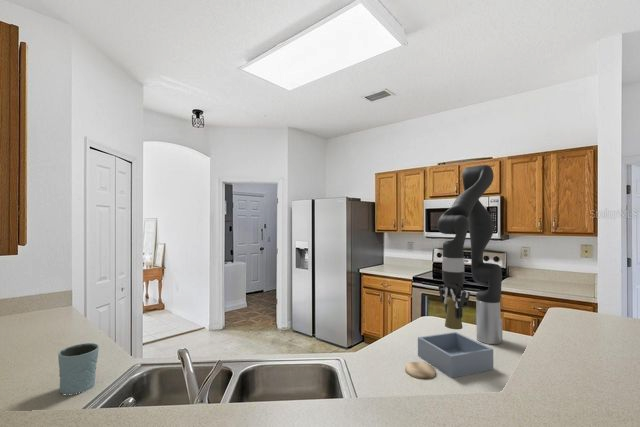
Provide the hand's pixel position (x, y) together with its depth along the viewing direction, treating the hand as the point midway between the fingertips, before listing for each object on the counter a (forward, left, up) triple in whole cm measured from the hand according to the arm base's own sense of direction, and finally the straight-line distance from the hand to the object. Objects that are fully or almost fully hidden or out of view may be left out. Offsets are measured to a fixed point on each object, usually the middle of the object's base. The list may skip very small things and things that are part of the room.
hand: (453, 316), depth 116 cm
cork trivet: (+16, +2, -17) cm, 23 cm away
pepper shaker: (0, 0, -4) cm, 4 cm away
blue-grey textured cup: (+123, -23, -17) cm, 126 cm away
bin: (0, 0, -17) cm, 17 cm away
